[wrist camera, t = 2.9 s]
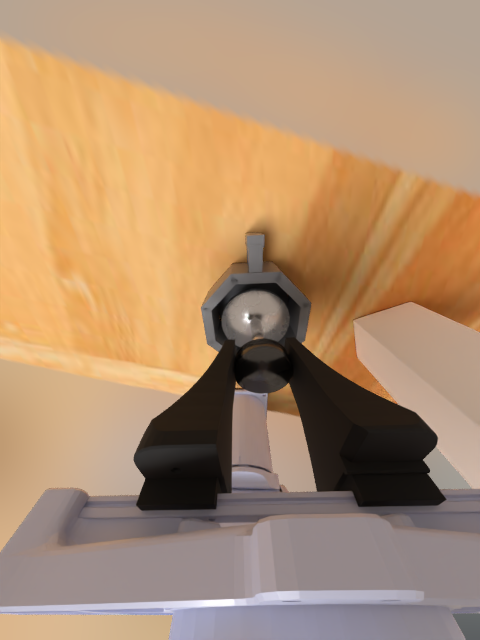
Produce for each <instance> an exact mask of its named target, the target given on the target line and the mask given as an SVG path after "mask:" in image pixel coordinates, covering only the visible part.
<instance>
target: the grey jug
mask: <svg viewBox="0 0 480 640" xmlns="http://www.w3.org/2000/svg"><path fill="white" fill-rule="evenodd" d="M264 236H265V235H264V234H262V233H245V240H246V246H247V263H233V264H232V265H231V266H230V267H229V268H228V269H227V271H226V272H225V273H224V274H223V275H222V276H221V277H220V279H219V280H218V281H217V282H216V283H215V284H214V286H213V287H212V288H211V289H210V290H209V292H208V294H207V296H206V298H205V300H204V302H203V304H202V307H201V310H202V316H203V322H204V328H205V334H206V339H207V344H208V345H209V346H211V347H212V348H214V349H215V350H217V351H218V352H219V351H220V350H221V348H222V346H223V344H224V341H225V340H229V339H228V338H227V337H226V335H225V333H224V331H223V328H222V321H221V320H220V318H221V319H222V315H223V311H224V308H225V306H226V304H227V303H228V301H229V300H230V299H231V298H232V297H233V296H235V295H236V294H238V293H240V292H242V291H244V290H248V289H254V288H259V289H265V290H269V291H271V292H273V293H275V294H277V295H278V296H279V297H280V298H281V299H282V300H283V302H284V303H285V305H286V307H287V309H288V311H289V316H290V322H289V327H288V330H287V332H286V333H285V335H284V336H283V337H282V339H281V340H279V341H278V342H279V343H280V344H282V345H283V346H285V338H287V337H295V338H296V339H297V340H298V341H299V342H300V343H302V342H304V341H305V337H306V331H307V325H308V320H309V314H310V308H311V302H310V301H309V300H308V299H307V298H306V297H305V295H304V294H303V293H302V292H301V291H300V290H299V289H298V288H297V287H296V286H295V285H294V284H293V283H292V282H291V281H290V280H289V278H288V277H287V276H286V275H285V274H284V273H283V272H282V271H281V270H280V269H279V268H278V267H277V266H276V265H275V264H274V263H273V262H263V248H264ZM287 294H288V296H287ZM219 315H220V316H219ZM235 348H236V353H237V351H238V350H239V349H240V347H239V346H237V345H235Z"/></svg>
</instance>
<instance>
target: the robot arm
mask: <svg viewBox="0 0 480 640" xmlns="http://www.w3.org/2000/svg"><path fill="white" fill-rule="evenodd" d="M284 347H285V349H286V351H287V353H288V356H289V358H290V361H291V364H292V367H293V376H292V378H291V380H290V381H289V384H290V387H291V389H292V392H293V395H294V398H295V400H296V403H297V406H298V409H299V413H300V417H301V420H302V424H303V428H304V433H305V437H306V441H307V445H308V450H309V454H310V458H311V463H312V468H313V473H314V478H315V483H316V488H317V492H288V490H287V489H286V487H285V486H284V485H279V480H278V474H275V473H273V469H272V461H271V454H270V446H269V439H268V432H267V424H266V417H267V398H268V393H264V394H259V393H253V392H249V391H247V390H235V385H236V379H235V357H236V348H235V339H234V340H225V341H224V344H223V346H222V348H221V350H220V351H219V353H218V355H217V356H216V358H215V360H214V361H213V362H212V364H211V365H210V367H209V368H208V369H207V371H206V372H205V373H204V374H203V376H202V377H201V378H200V379H199V380H198V381H197V382H196V383H195V384H194V385H193V387H192V388H191V389H190V390H189V391H188V392H186V393H185V394H184V395H183V396H182V397H181V398H180V399H179V400H177V401H176V402H175V403H174V404H173V405H172V406H170V407H169V408H168V409H166V410H165V411H164V412H163V413H161V414H160V415H158V416H157V417H156V418H154V419H153V420H152V421H151V423H150V424H149V426H148V428H147V429H146V431H145V433H144V435H143V437H142V439H141V441H140V444H139V446H138V448H137V450H136V453H135V455H134V462H135V464H136V466H137V468H138V469H139V470H140V472H141V473H142V474H143V476H144V477H145V478H146V479H145V482H144V485H143V487H142V490H141V492H140V495H122V496H121V495H120V496H89V495H88V494H87V493H86V492H85V491H84V490H82V489H78V488H49V489H47V490H45V492H44V493H43V494H42V496H41V497H40V499H39V500H38V501H37V503H36V504H35V505H34V507H33V508H32V510H31V511H30V512H29V514H28V515H27V516H26V518H25V519H24V521H23V522H22V524H21V525H20V526H19V527H18V529H17V530H16V531H15V533H14V534H13V536H12V537H11V538H10V540H9V541H8V542H7V544H6V545H5V547H4V548H3V549H2V551H1V552H0V614H19V615H22V614H23V615H27V614H28V615H29V614H83V615H84V614H85V615H86V614H88V615H91V614H93V615H97V614H98V615H99V614H100V615H173V617H172V623H171V629H170V635H169V640H466V639H465V637H464V635H463V634H462V632H461V630H460V628H459V626H458V625H457V623H456V621H455V619H454V617H453V616H452V613H480V489H438V487H437V486H436V485H435V483H434V482H433V481H432V479H431V478H430V477H429V475H428V474H427V473H429V472H430V469H429V468H428V466H427V465H426V464H425V462H424V461H423V459H424V458H425V457H426V456H427V455H428V454H429V453H430V452H431V451H432V450H433V449H434V448H435V446H436V445H437V442H438V437H437V435H436V433H435V432H434V431H433V430H432V429H431V428H430V427H429V426H428V425H427V424H426V423H425V422H424V420H423V419H422V418H421V417H420V416H419V415H418V414H417V413H416V412H414V411H412V410H409V409H407V408H405V407H402V406H400V405H398V404H395V403H393V402H391V401H388V400H386V399H384V398H382V397H380V396H378V395H376V394H374V393H372V392H370V391H368V390H366V389H364V388H362V387H361V386H359V385H357V384H355V383H354V382H352V381H350V380H348V379H347V378H345V377H343V376H342V375H340V374H339V373H337V372H336V371H334V370H333V369H332V368H330V367H329V366H327V365H326V364H325V363H323V362H322V361H321V360H320V359H318V358H317V357H316V356H315V355H314V354H312V353H311V352H310V351H309V350H308V349H307V348H306V347H304V346H303V345H302V344H301V343H300V342H299V341H298V340H297V339H296V338H295V337H287V338H285V346H284Z"/></svg>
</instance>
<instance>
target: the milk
mask: <svg viewBox="0 0 480 640" xmlns="http://www.w3.org/2000/svg"><path fill="white" fill-rule="evenodd" d="M353 325H354V334H355V343H356V353H357V358H358V359H359V360H360V361H361V362H362V363H363V365H364V366H365V367H366V368H367V369H368V370H369V371H370V373H371V374H372V375H373V376H374V377H375V378H376V379H377V380H378V382H379V383H380V384H381V385H382V386H383V387H384V388H385V390H386V391H387V392H388V393H389V394H390V395H391V396H392V397H393V399H394V400H395V401H396V402H397V403H398V404H399V405H400V406H402V407H405V408H407V409H409V410H412V411H414V412H416V413H417V414H418V415H419V416H420V417H421V418H422V419H423V420H424V422H425V423H426V424H427V425H428V426H429V427H430V428H431V429H432V430H433V431H434V432H435V433H436V435H437V437H438V442H437V445H436V447H437V448H438V450H440V452H441V453H442V454H443V455H444V456H445V457H446V458H447V460H448V461H449V462H450V463H451V464H452V465H453V467H454V468H455V469H456V470H457V471H458V472H459V473H460V474H461V475H462V477H463V478H464V479H465V480H466V481H467V482H468V483H469V485H470V486H471V487H472V488H473V489H480V332H478V331H476V330H473V329H471V328H469V327H467V326H464V325H462V324H460V323H458V322H456V321H453V320H451V319H449V318H447V317H444V316H442V315H440V314H438V313H436V312H433V311H431V310H429V309H427V308H424V307H422V306H420V305H418V304H416V303H413V302H408V303H405V304H402V305H398V306H395V307H392V308H389V309H386V310H383V311H380V312H377V313H374V314H370V315H367V316H364V317H361V318H358V319H355V320H353Z"/></svg>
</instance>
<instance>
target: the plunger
mask: <svg viewBox="0 0 480 640" xmlns="http://www.w3.org/2000/svg"><path fill="white" fill-rule="evenodd" d="M289 322H290V316H289V311H288V309H287V307H286V305H285V303H284V302H283V300H282V299H281V298H280V297H279V296H278V295H277V294H275V293H273V292H271V291H269V290H265V289H259V288H254V289H248V290H244V291H242V292H240V293H238V294H236V295H235V296H233V297H232V298H231V299H230V300H229V301H228V303H227V304H226V306H225V308H224V311H223V315H222V328H223V331H224V333H225V335H226V337H227V338H228V339H229V340H234V339H235V345H237V346H239V347H240V349H239V350H238V351H237V353H236V357H235V379H236V381H237V383H238V384H239V385H240V386H241V387H242V388H243V389H245V390H247V391H249V392H253V393H259V394H264V393H271V392H275V391H277V390H280V389H281V388H283V387H284V386H286V385H287V384H288V383H289V381H290V380H291V378H292V376H293V367H292V364H291V361H290V358H289V356H288V353H287V351H286V349H285V347H284V346H283V345H282V344H280V343H279V342H278V341H279V340H281V339H282V337H283V336H284V335H285V333H286V332H287V330H288V327H289Z"/></svg>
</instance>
